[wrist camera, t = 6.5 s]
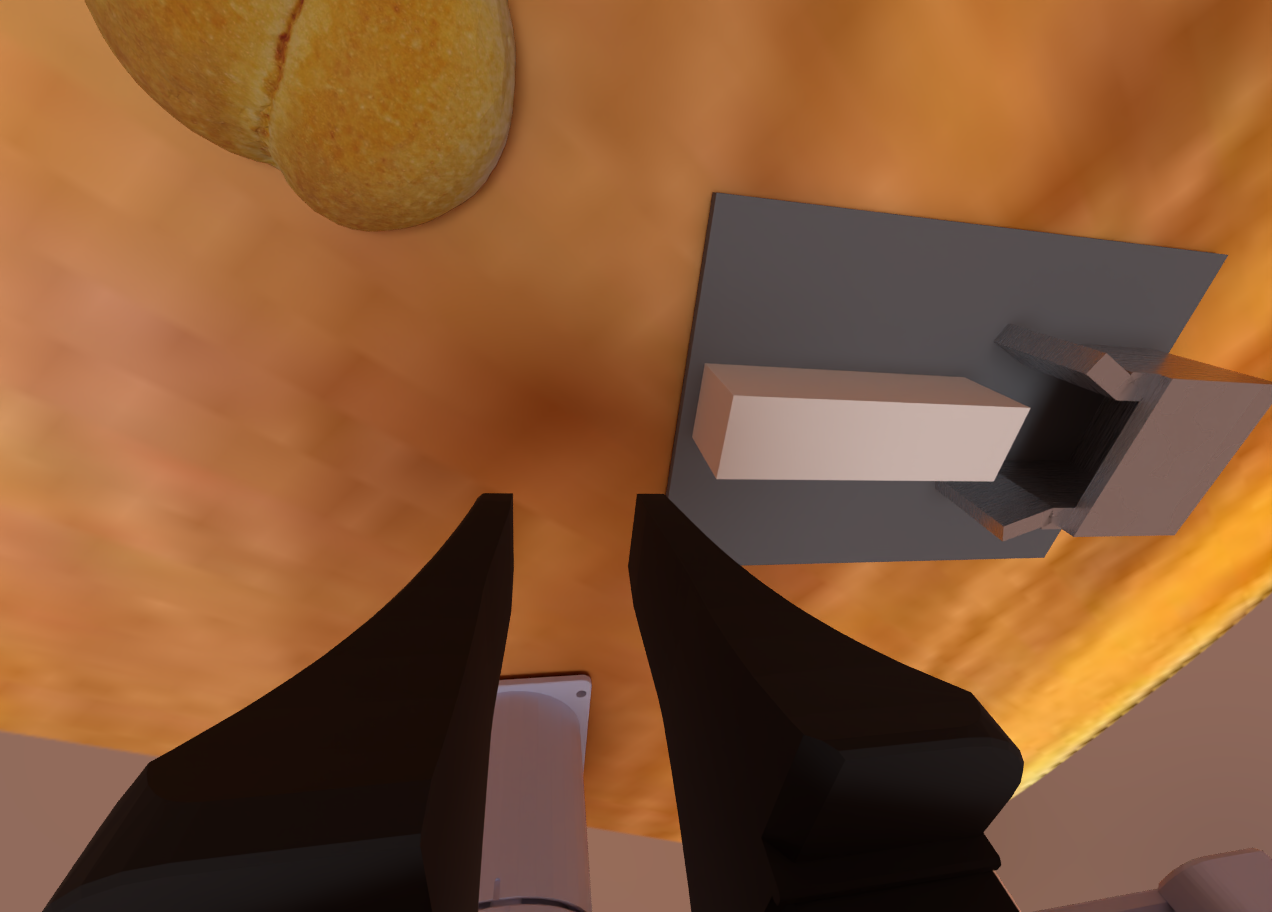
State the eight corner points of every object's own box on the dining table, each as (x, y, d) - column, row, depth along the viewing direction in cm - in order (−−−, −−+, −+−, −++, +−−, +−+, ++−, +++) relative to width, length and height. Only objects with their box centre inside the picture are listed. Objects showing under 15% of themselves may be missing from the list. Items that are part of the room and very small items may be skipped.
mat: (1037, 552, 27) (1044, 557, 26) (655, 561, 23) (657, 567, 23) (1216, 253, 20) (1228, 254, 20) (712, 192, 16) (716, 192, 16)
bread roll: (434, 276, 16) (404, 302, 13) (95, 48, 12) (-78, -3, 9) (584, 22, 14) (598, -32, 10) (219, -352, 10) (47, -634, 7)
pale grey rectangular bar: (692, 437, 20) (716, 479, 17) (704, 363, 18) (733, 395, 15) (935, 443, 22) (993, 481, 19) (964, 377, 20) (1030, 407, 18)
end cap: (1068, 489, 24) (1166, 546, 21) (928, 488, 23) (1005, 549, 19) (1159, 335, 21) (1297, 369, 17) (1001, 323, 19) (1113, 357, 16)
